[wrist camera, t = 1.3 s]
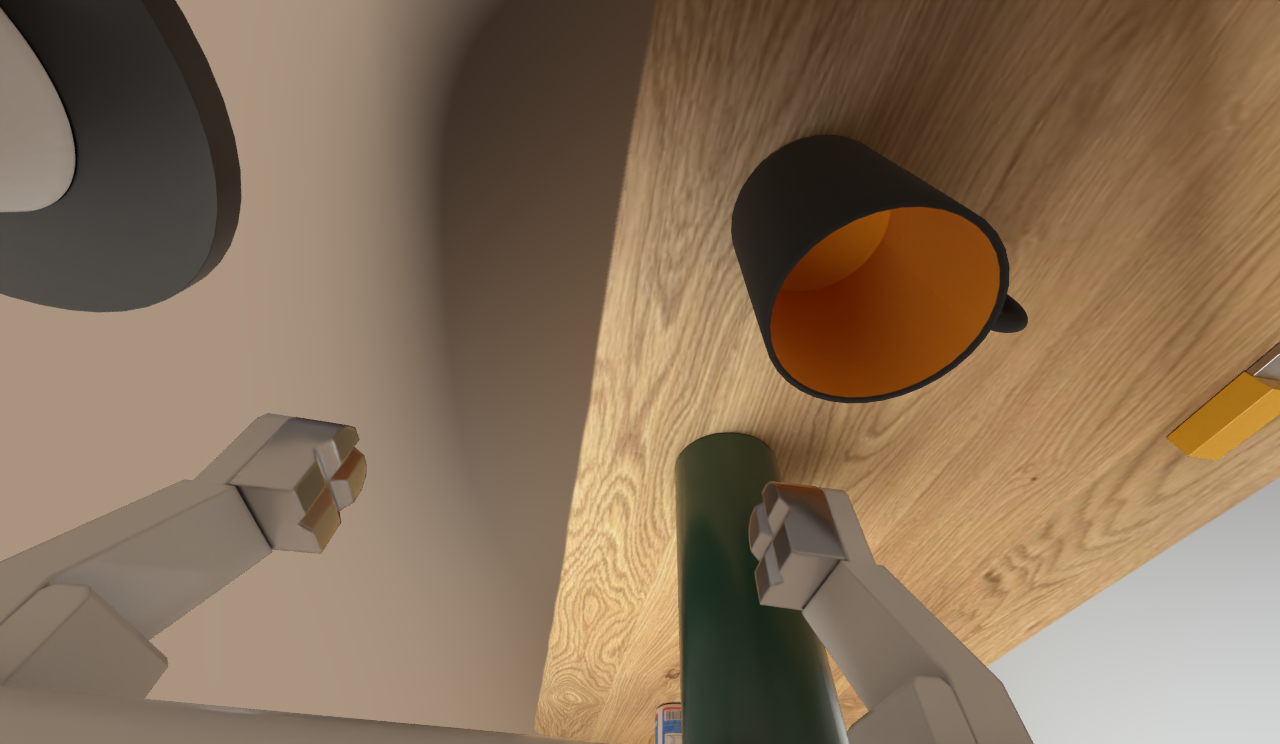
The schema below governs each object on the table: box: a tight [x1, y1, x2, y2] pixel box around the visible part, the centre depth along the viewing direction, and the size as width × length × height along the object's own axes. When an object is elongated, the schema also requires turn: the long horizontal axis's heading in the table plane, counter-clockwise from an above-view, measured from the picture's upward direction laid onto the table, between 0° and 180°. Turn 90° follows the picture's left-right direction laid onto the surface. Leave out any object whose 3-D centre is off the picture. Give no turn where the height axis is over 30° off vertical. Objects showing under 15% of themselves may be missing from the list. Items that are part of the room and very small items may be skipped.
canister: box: [675, 433, 849, 744], centre depth 29 cm, size 8×8×20 cm
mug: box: [731, 135, 1028, 403], centre depth 21 cm, size 8×12×10 cm
